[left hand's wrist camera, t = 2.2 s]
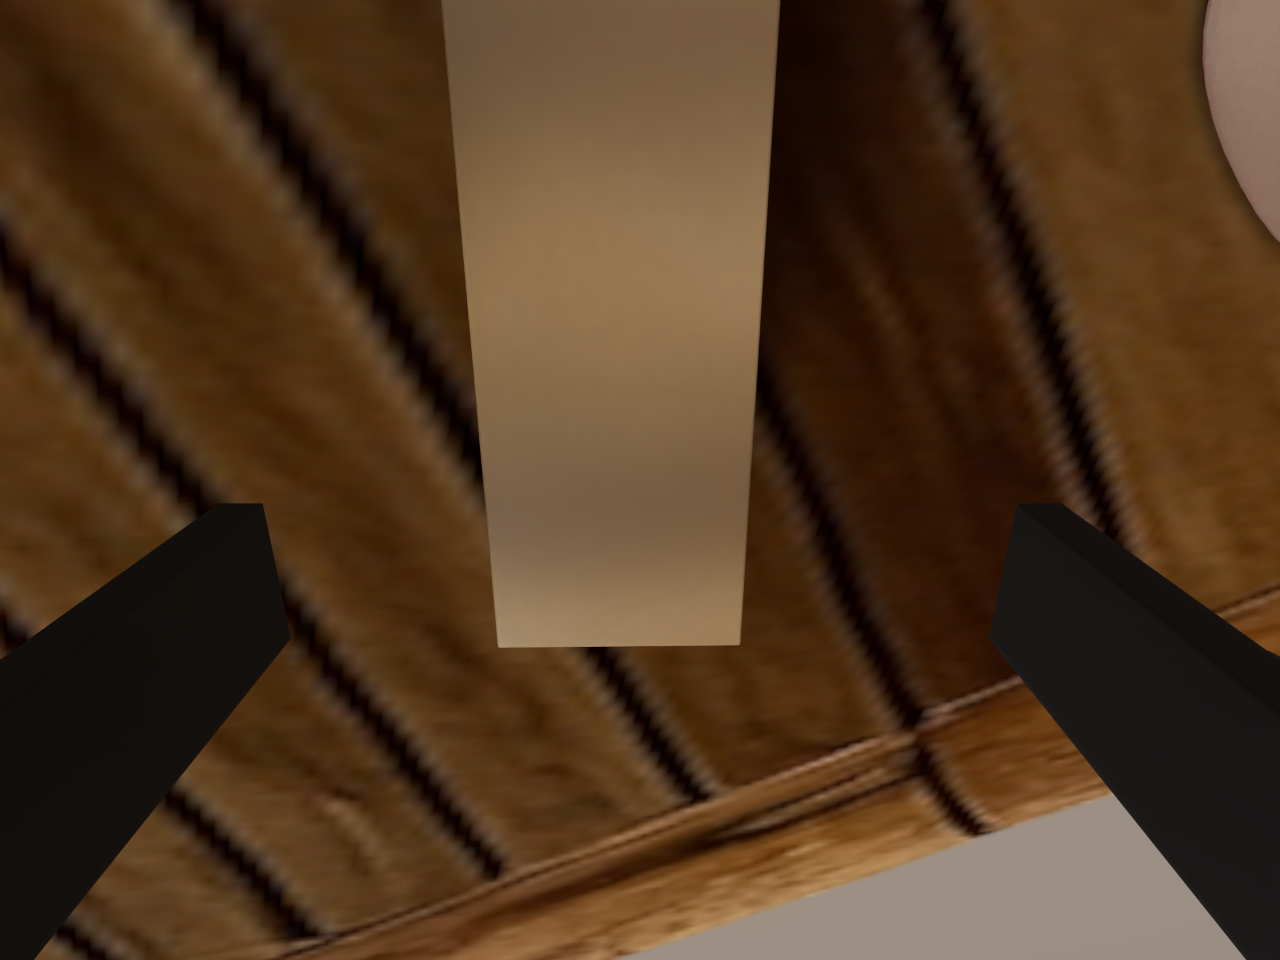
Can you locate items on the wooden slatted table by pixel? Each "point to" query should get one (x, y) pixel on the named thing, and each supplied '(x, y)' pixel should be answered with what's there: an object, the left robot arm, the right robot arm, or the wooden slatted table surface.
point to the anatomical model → (1247, 96)
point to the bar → (614, 305)
